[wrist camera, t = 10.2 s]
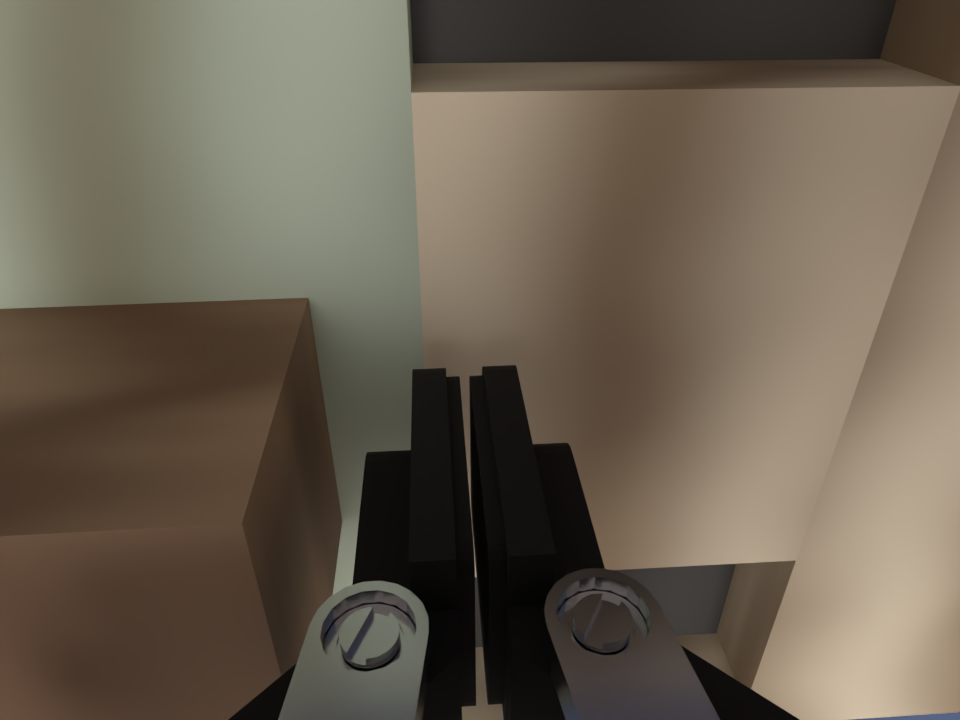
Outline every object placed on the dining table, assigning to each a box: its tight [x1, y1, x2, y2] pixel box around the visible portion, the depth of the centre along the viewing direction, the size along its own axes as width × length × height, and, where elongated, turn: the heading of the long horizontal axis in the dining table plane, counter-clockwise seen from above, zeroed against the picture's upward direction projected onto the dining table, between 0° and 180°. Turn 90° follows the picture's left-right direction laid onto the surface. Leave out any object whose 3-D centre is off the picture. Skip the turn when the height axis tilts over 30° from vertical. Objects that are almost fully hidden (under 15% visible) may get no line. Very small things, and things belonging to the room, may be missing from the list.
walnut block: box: [0, 298, 342, 720], centre depth 11 cm, size 5×5×5 cm
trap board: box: [0, 0, 960, 720], centre depth 14 cm, size 28×23×2 cm
